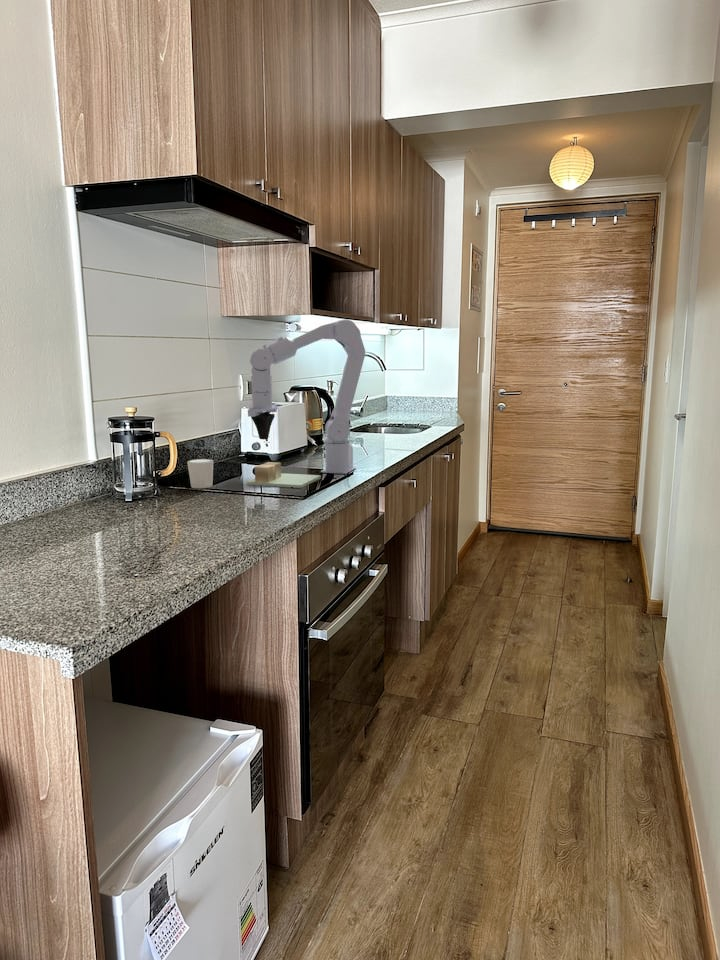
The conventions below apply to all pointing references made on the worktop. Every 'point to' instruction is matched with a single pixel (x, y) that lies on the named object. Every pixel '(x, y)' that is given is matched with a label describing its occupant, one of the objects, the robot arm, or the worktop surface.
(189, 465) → the light grey cup
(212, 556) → the worktop surface
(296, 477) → the cutting board
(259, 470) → the maple block
